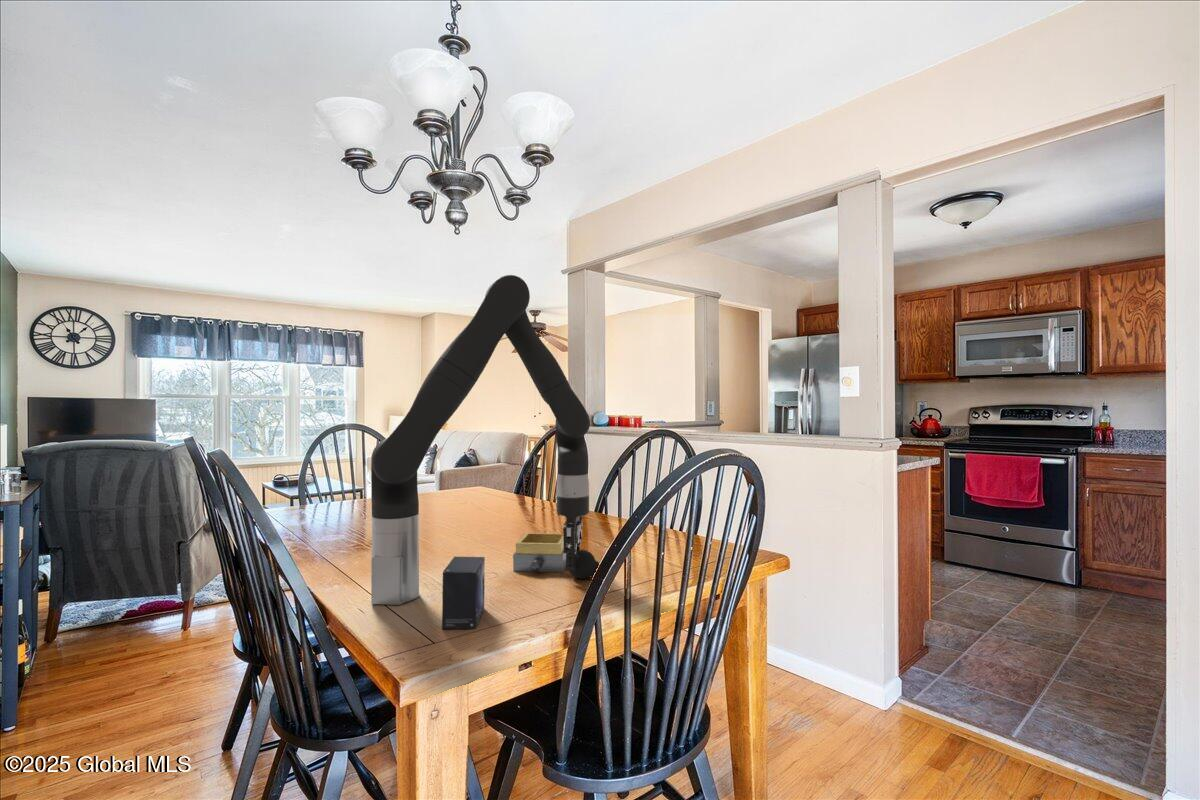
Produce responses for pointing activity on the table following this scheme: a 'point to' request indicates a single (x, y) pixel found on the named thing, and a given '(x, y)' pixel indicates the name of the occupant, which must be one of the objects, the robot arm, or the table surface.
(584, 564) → the light bulb
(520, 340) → the robot arm
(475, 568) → the small box
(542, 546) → the tan and grey block
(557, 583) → the table surface
